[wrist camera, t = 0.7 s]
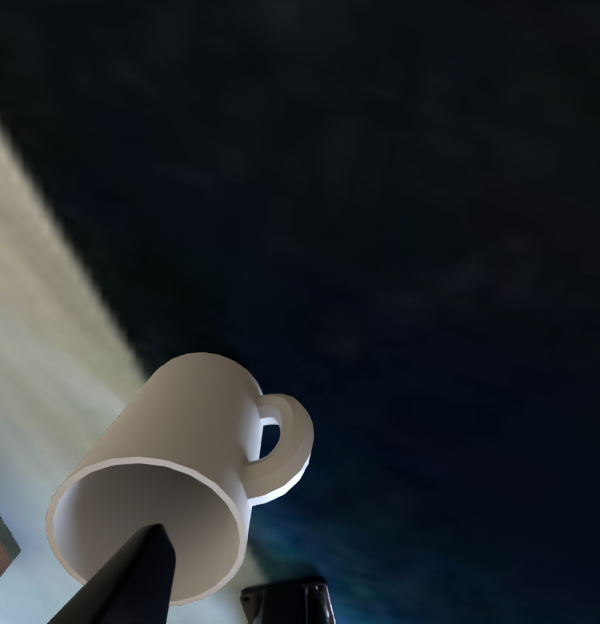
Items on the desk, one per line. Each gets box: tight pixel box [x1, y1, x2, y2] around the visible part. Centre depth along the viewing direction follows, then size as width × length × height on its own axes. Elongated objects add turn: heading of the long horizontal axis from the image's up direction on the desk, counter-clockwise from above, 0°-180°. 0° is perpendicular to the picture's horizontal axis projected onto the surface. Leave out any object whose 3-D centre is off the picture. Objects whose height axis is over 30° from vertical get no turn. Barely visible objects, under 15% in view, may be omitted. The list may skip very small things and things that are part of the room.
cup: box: [46, 352, 314, 607], centre depth 17 cm, size 7×10×9 cm
